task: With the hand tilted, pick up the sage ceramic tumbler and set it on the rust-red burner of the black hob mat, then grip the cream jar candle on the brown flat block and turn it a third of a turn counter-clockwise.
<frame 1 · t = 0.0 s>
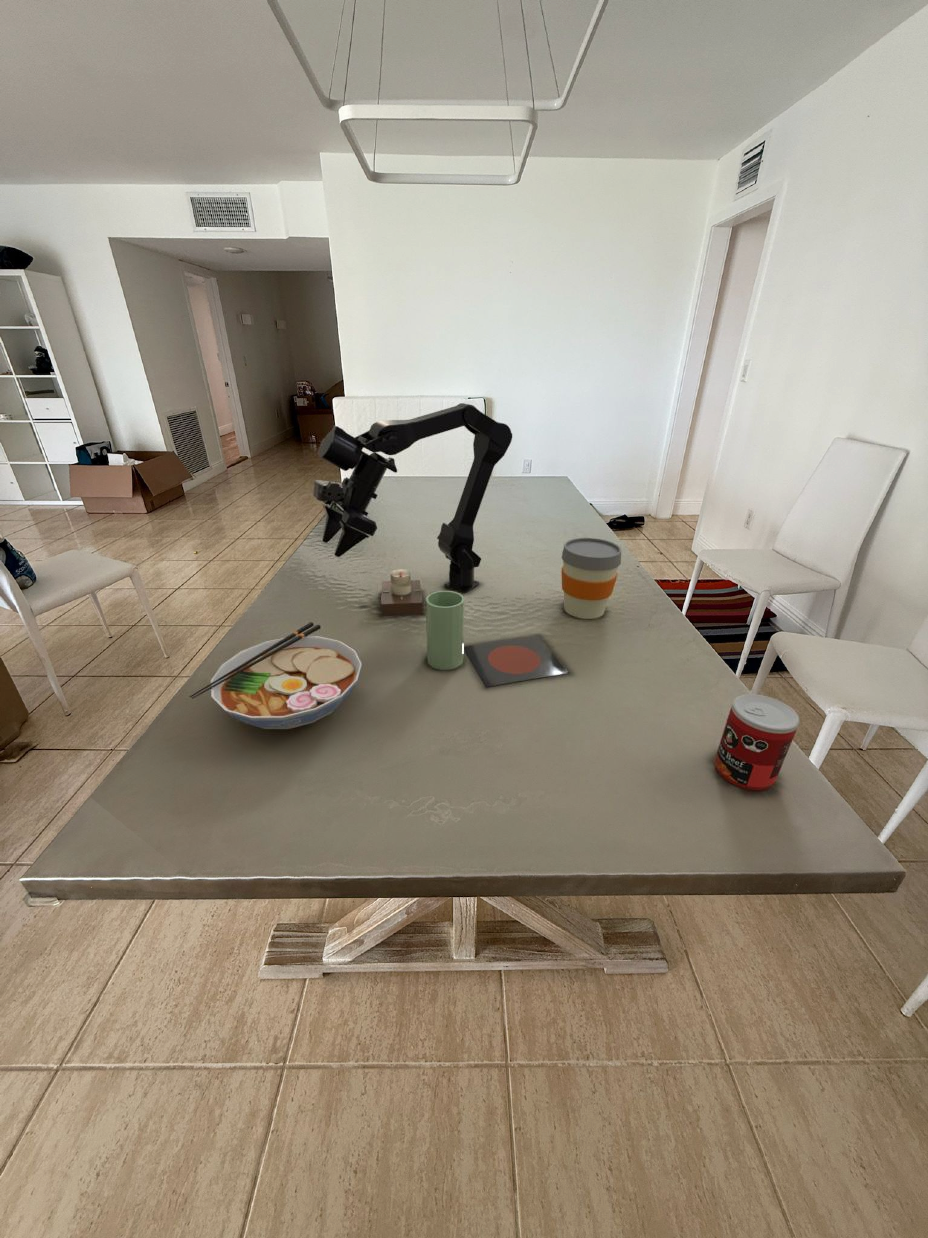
hand: (330, 548, 109), 15 cm above the table, tool tilted 35°, fingers open, 9 cm apart
ramen bowl: (295, 709, 86), on the table
brown flat block: (401, 603, 120), on the table
hob: (514, 659, 99), on the table
tumbler: (445, 660, 99), on the table
canned food: (743, 772, 74), on the table
reusable coffee cup: (583, 610, 118), on the table
cream jar candle: (400, 581, 117), point 5 cm above the table, hinge at 0.0°
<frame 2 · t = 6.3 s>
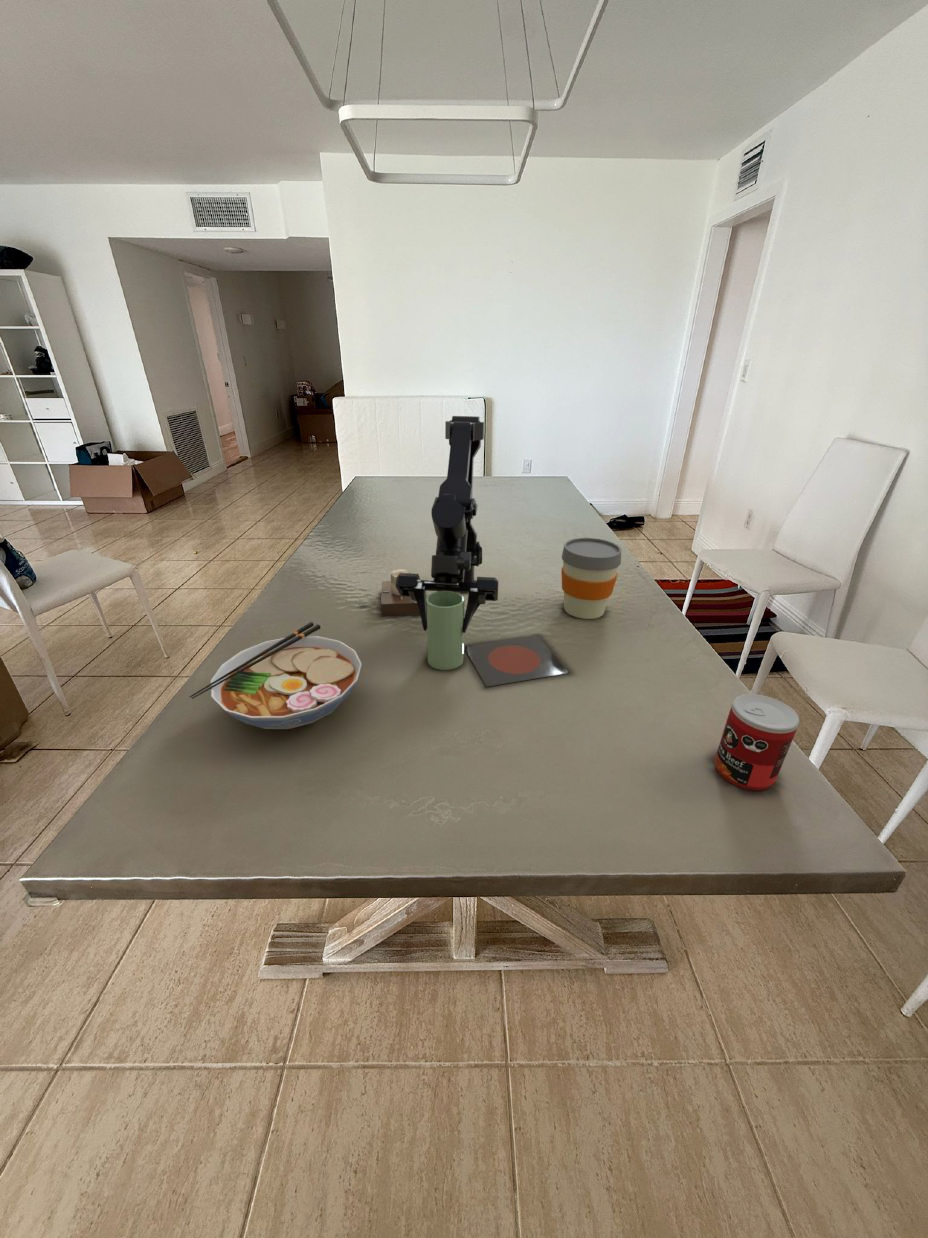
hand: (444, 631, 94), 7 cm above the table, tool tilted 45°, fingers closed on tumbler, 7 cm apart
tumbler: (445, 660, 99), on the table, touching gripper
everything else where it was.
when the fingers open (7 cm above the table, at t = 12.3 s): tumbler stays where it is, resting on hob.
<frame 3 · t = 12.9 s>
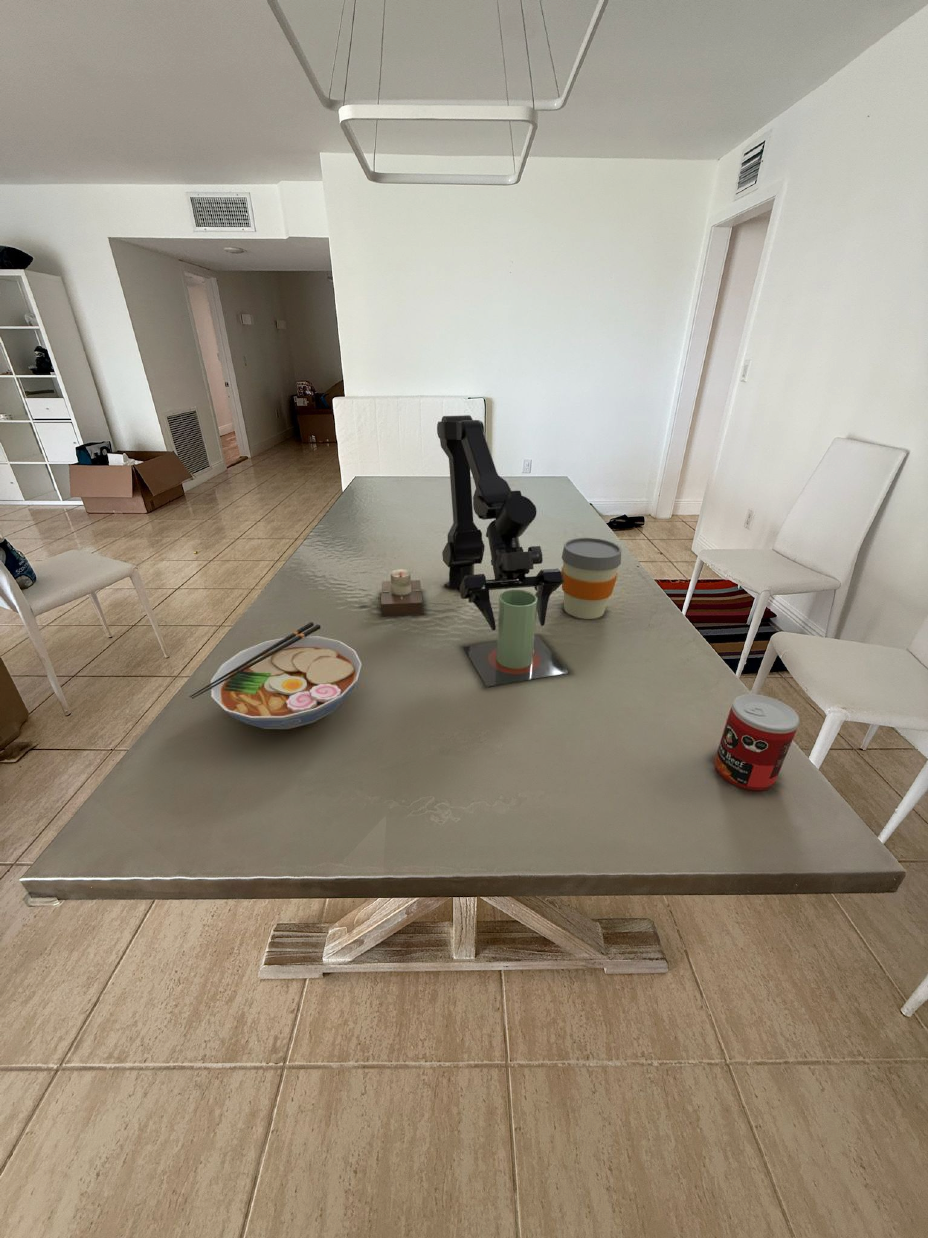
hand: (518, 627, 95), 8 cm above the table, tool tilted 45°, fingers open, 9 cm apart
tumbler: (514, 659, 99), resting on hob
everything else where it was.
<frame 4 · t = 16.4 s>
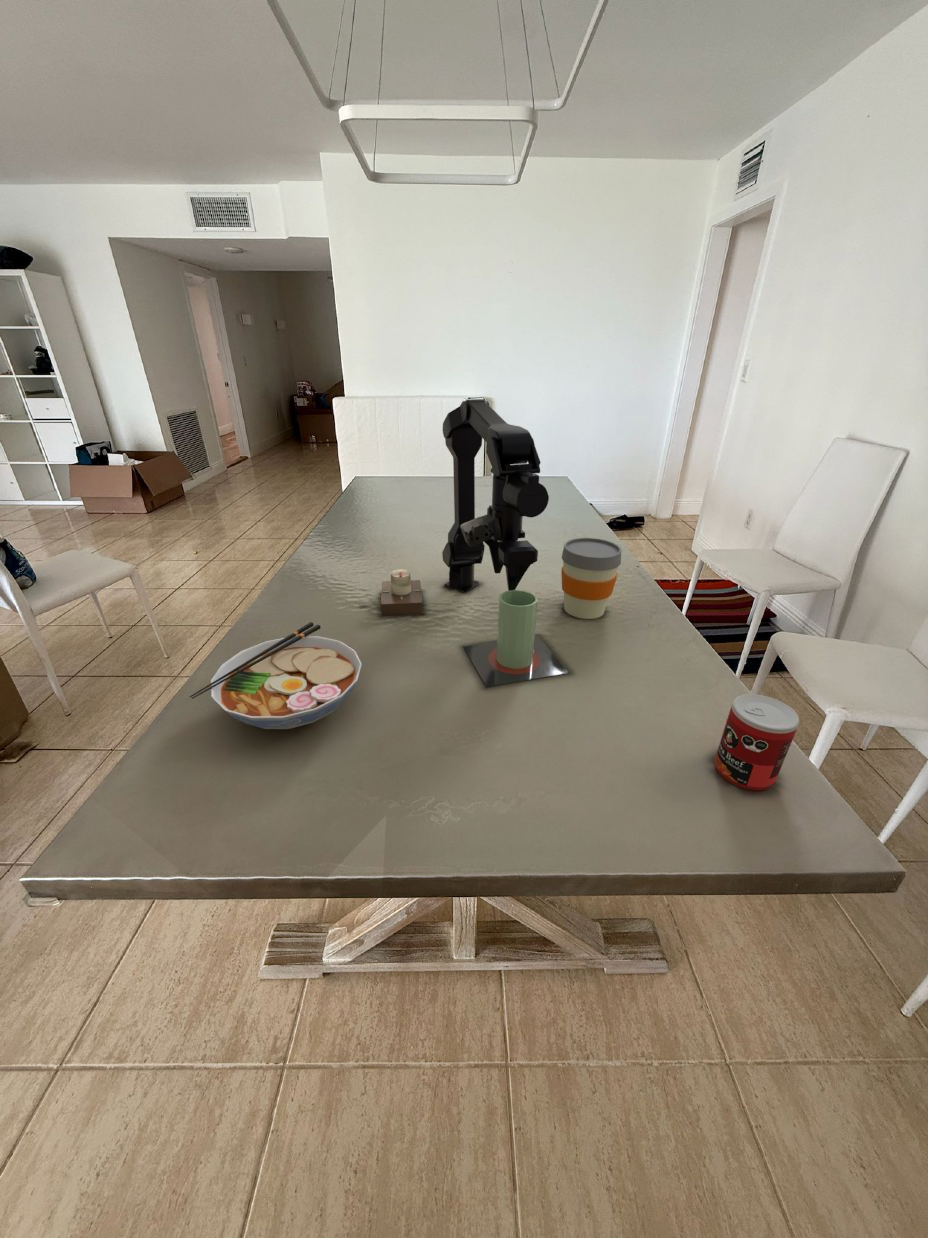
hand: (504, 581, 102), 12 cm above the table, tool pointing down, fingers open, 9 cm apart
nothing on the table moved.
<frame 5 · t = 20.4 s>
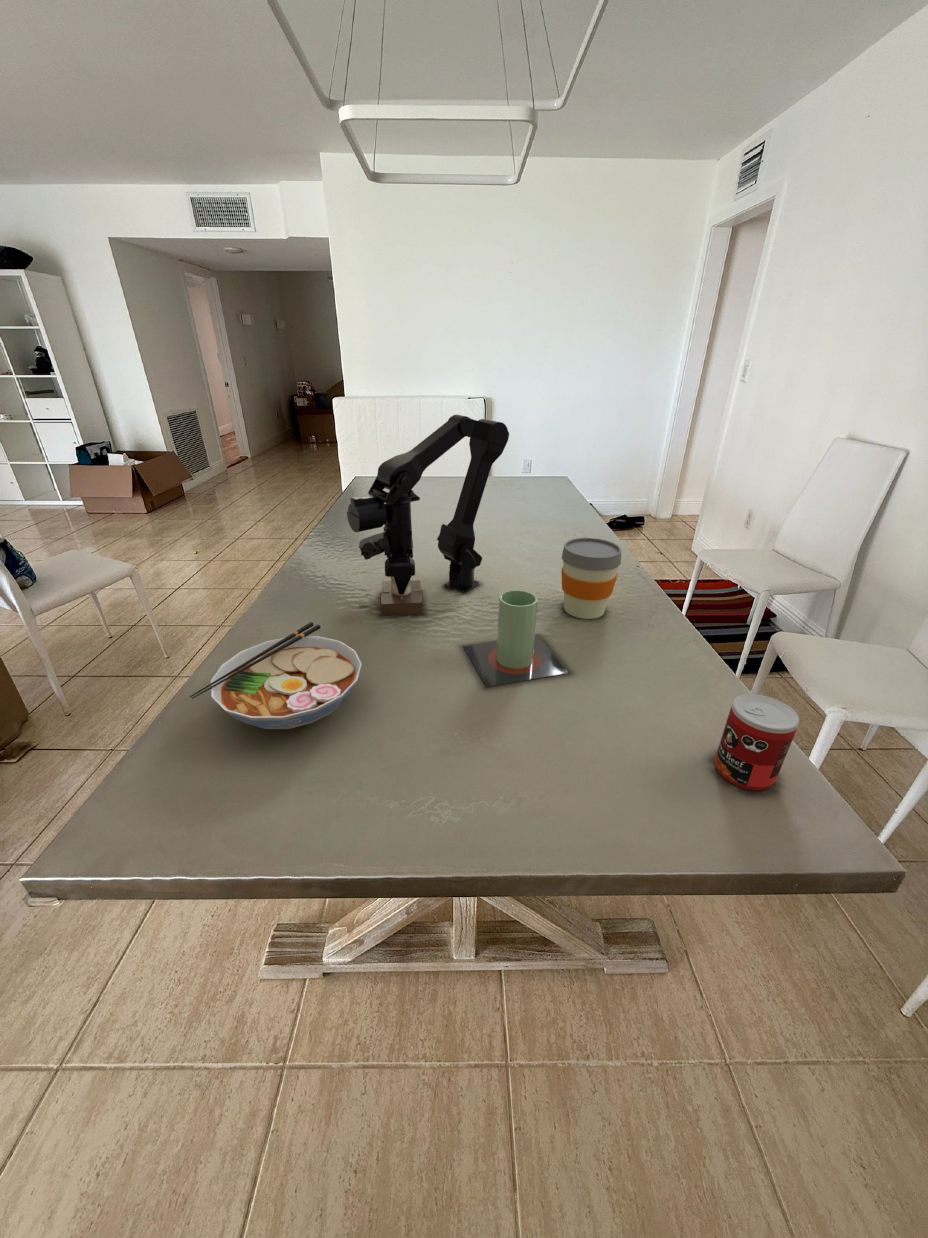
hand: (401, 589, 118), 4 cm above the table, tool pointing down, fingers closed on cream jar candle, 4 cm apart
cream jar candle: (400, 581, 117), point 5 cm above the table, hinge at 0.0°, touching gripper
everything else where it was.
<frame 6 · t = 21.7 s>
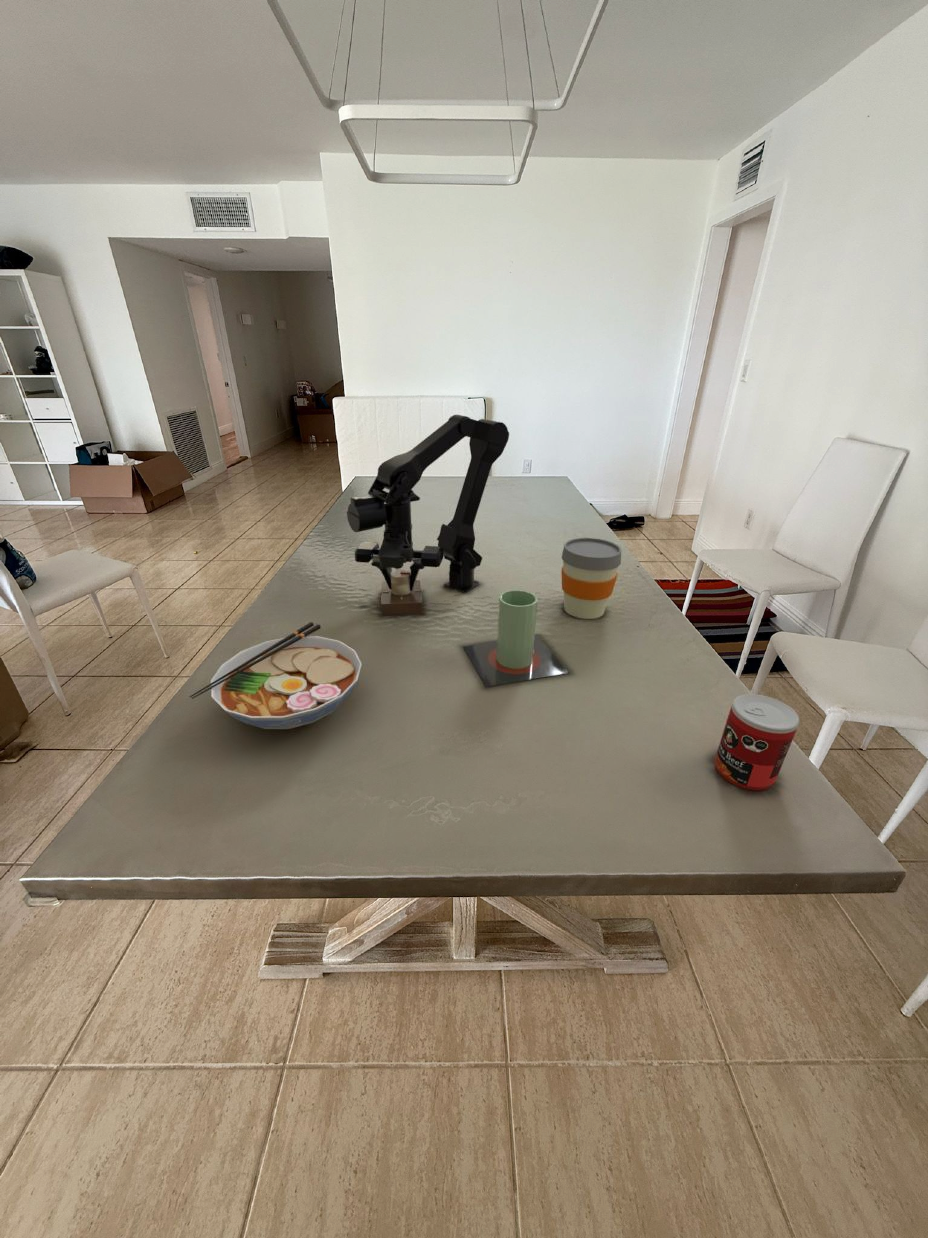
hand: (401, 589, 118), 4 cm above the table, tool pointing down, fingers closed on cream jar candle, 4 cm apart
cream jar candle: (400, 581, 117), point 5 cm above the table, hinge at 74.9°, touching gripper
everything else where it was.
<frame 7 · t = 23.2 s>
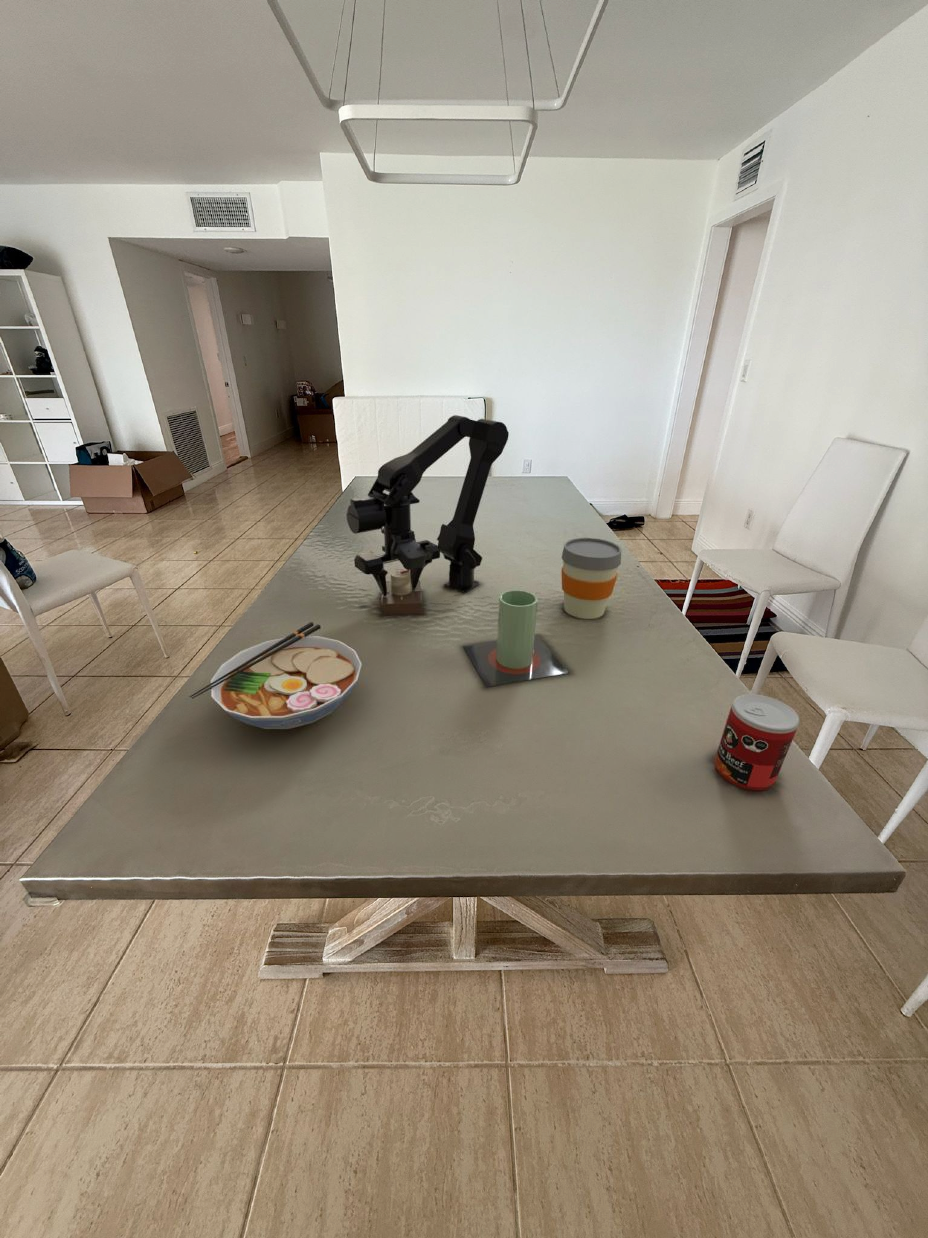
hand: (399, 591, 118), 3 cm above the table, tool pointing down, fingers open, 7 cm apart
cream jar candle: (400, 581, 117), point 5 cm above the table, hinge at 119.7°
everything else where it was.
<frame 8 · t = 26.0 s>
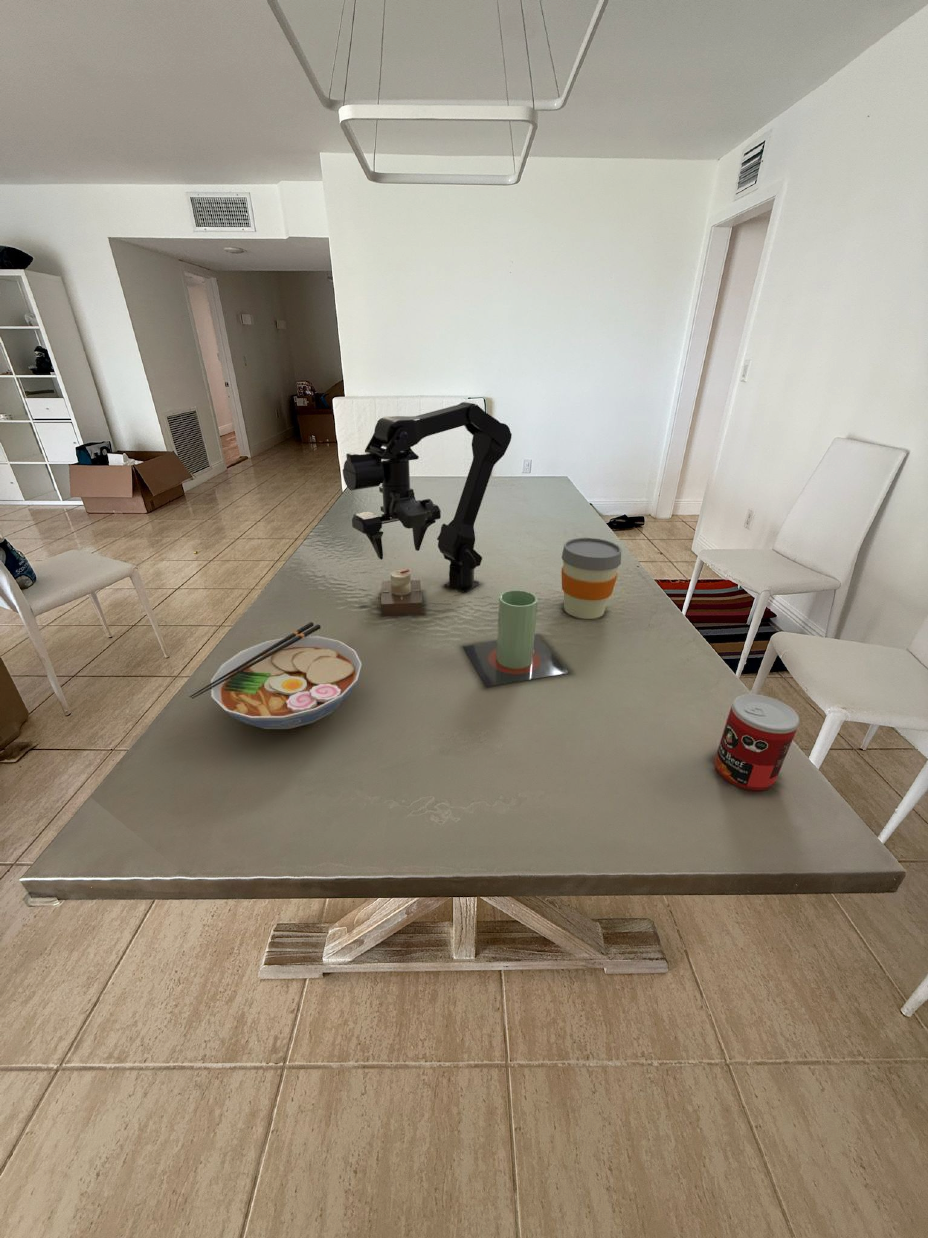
hand: (399, 554, 114), 12 cm above the table, tool pointing down, fingers open, 9 cm apart
nothing on the table moved.
at the end: tumbler 0.0 cm off-centre on the hob, point 0.2 cm above the hob's base; tumbler tilted 0°; cream jar candle at +120° (first picture: +0°) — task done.
